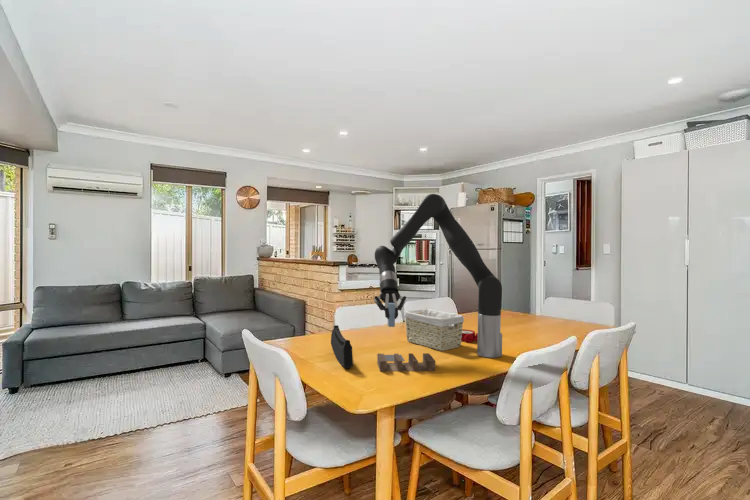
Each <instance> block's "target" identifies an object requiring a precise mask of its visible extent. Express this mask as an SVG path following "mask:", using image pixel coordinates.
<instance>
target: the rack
mask: <svg viewBox="0 0 750 500" xmlns="http://www.w3.org/2000/svg"><path fill="white" fill-rule="evenodd" d="M385 355H386V354H385V353H377V354H376V357H377V358H376V360H377V361H376V363H377V366H378V367H377V368H378V370H379V372H380V373H381V372H383V373H384V372H387V373H388V372H436V359H434V357H433V356H432V355H431V354H430V353H422V362H419V361H418V359H417V357H416V356H415V355H414V353H408V359H407V360H408V362H403V361H402V359H401V358H400V356H399V355H400V354H399V353H393V355H394V361H393V362H388V361H387V360H386V358H385Z"/></svg>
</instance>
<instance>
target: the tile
mask: <svg viewBox="0 0 750 500" xmlns="http://www.w3.org/2000/svg"><path fill="white" fill-rule="evenodd" d="M388 309H389V319H387V326H388V327H389V328H395V326H396V319H395V303H388Z"/></svg>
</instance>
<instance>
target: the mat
mask: <svg viewBox="0 0 750 500" xmlns="http://www.w3.org/2000/svg"><path fill="white" fill-rule="evenodd" d="M384 355H385V358H386V360H387V362H394V354H384ZM399 356H400V358H401V359H402V362H405V359H404V357H403V356H402V354H399Z"/></svg>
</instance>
